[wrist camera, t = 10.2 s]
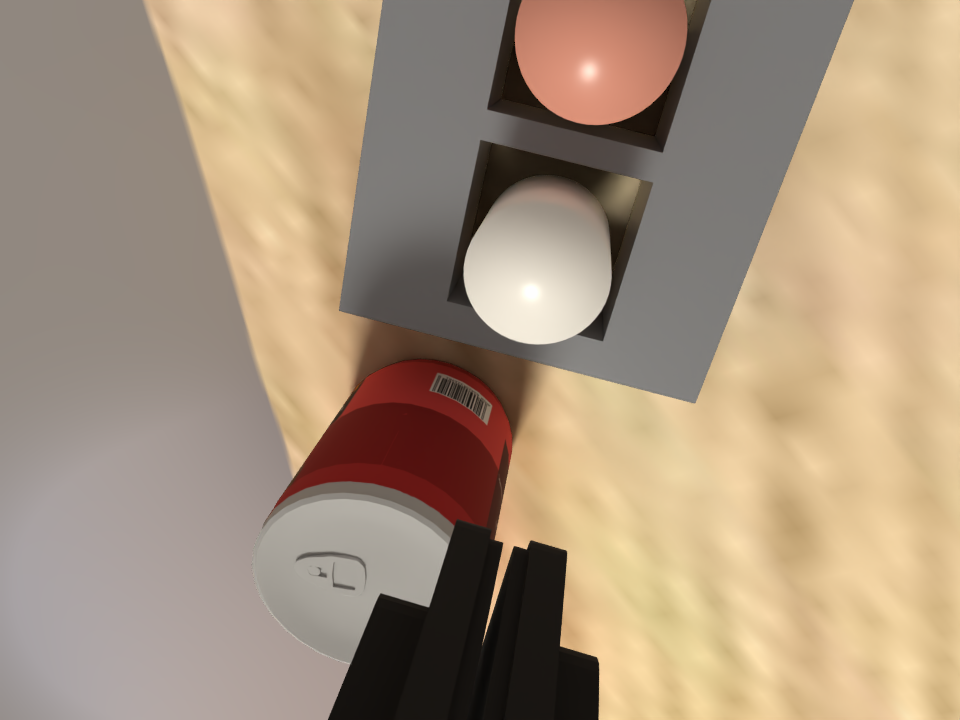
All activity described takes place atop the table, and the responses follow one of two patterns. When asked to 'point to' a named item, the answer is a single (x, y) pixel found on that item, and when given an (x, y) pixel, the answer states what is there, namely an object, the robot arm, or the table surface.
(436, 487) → the canned food
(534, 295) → the white dome button
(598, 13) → the pink rounded dome
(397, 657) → the robot arm
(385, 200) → the grey slotted tray
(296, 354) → the table surface
